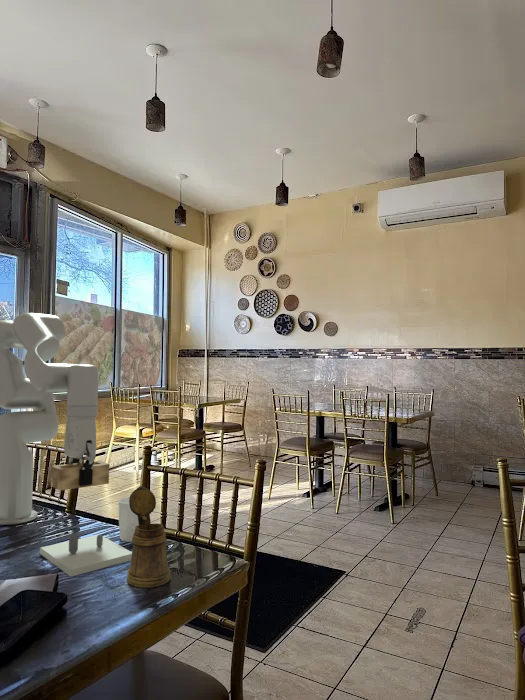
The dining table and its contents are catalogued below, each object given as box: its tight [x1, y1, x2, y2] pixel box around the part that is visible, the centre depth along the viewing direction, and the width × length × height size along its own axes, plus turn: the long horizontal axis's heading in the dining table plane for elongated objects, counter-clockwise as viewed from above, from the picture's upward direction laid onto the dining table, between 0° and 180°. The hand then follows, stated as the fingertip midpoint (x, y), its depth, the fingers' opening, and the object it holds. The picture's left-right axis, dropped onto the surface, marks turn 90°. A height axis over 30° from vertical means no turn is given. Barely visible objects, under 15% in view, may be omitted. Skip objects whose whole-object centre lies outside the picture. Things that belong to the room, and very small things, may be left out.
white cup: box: [117, 496, 145, 543], centre depth 134 cm, size 8×8×10 cm
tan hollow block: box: [50, 460, 110, 491], centre depth 129 cm, size 12×6×5 cm, turn 131°
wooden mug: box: [126, 485, 172, 589], centre depth 110 cm, size 9×14×18 cm, turn 27°
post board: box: [39, 533, 132, 578], centre depth 120 cm, size 18×15×6 cm
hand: (80, 482), depth 129 cm, fingers closed on tan hollow block, 6 cm apart
